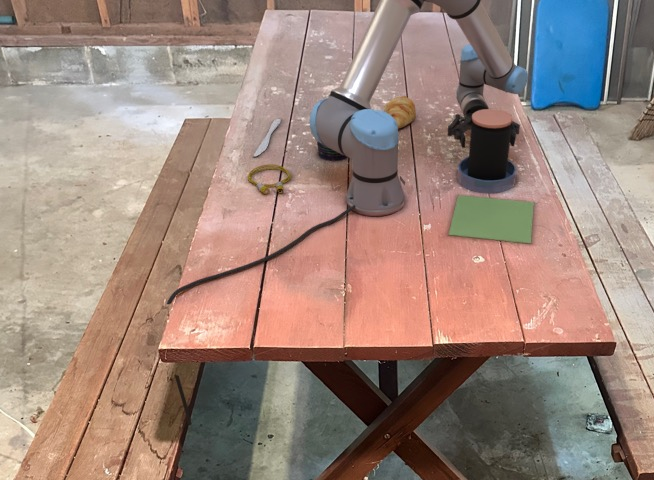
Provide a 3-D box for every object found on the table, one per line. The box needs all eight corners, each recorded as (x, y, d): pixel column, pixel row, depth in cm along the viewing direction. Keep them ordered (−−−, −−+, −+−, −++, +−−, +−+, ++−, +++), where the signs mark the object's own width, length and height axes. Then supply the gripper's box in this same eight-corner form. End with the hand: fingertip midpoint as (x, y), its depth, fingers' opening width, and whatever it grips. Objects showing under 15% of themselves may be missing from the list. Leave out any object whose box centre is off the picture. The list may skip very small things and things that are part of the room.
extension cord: (238, 193, 189) (237, 186, 188) (256, 166, 201) (255, 160, 200) (281, 196, 187) (281, 190, 186) (297, 169, 199) (296, 163, 198)
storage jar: (313, 149, 210) (310, 101, 200) (345, 144, 212) (343, 96, 203) (323, 163, 202) (320, 114, 193) (355, 158, 205) (354, 109, 196)
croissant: (405, 142, 221) (417, 122, 216) (377, 127, 219) (388, 106, 214) (411, 114, 237) (423, 94, 232) (385, 99, 235) (396, 79, 230)
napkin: (530, 244, 169) (530, 242, 169) (448, 235, 172) (448, 234, 172) (533, 203, 185) (533, 202, 184) (458, 195, 188) (458, 194, 188)
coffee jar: (502, 169, 199) (509, 108, 188) (508, 187, 191) (516, 124, 180) (464, 169, 199) (469, 108, 188) (469, 187, 191) (474, 125, 179)
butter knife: (284, 118, 226) (275, 117, 226) (260, 156, 205) (250, 155, 205) (284, 120, 226) (275, 119, 226) (260, 158, 205) (250, 157, 206)
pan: (507, 197, 187) (508, 185, 185) (450, 187, 192) (450, 175, 189) (520, 171, 199) (522, 159, 196) (466, 162, 203) (467, 150, 201)
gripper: (516, 122, 209) (532, 153, 193) (433, 124, 208) (442, 156, 191) (518, 97, 205) (535, 127, 188) (434, 99, 203) (443, 130, 187)
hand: (488, 142), depth 190 cm, fingers open, 13 cm apart
